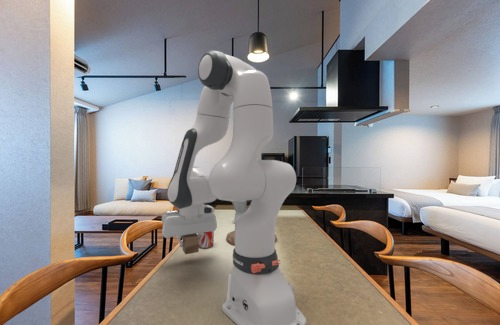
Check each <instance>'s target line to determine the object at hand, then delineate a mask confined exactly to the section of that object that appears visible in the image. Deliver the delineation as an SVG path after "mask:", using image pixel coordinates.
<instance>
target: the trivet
mask: <svg viewBox="0 0 500 325" xmlns="http://www.w3.org/2000/svg"><path fill="white" fill-rule="evenodd" d="M225 238H226V239H225V240H226V242H227V243H228V244H229V245H230V246H233V247H235V230H233V231H230V232H228V233H227V234H226V237H225ZM277 240H278V239H277V234H276V233H275V243H276V242H277Z"/></svg>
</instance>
